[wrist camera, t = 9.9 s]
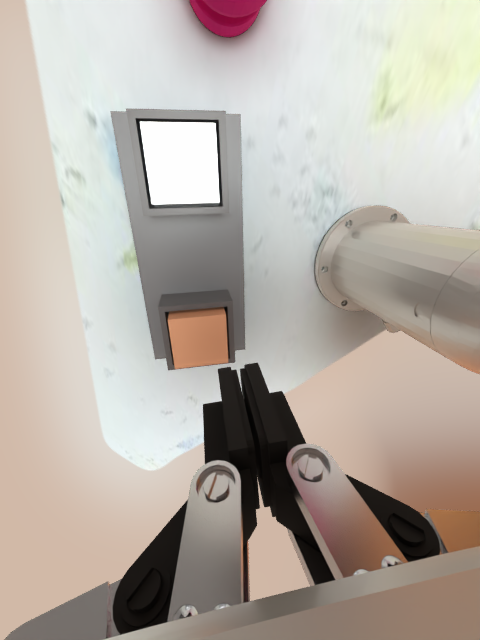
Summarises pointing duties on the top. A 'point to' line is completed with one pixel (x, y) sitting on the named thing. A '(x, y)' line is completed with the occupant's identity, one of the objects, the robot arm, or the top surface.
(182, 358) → the terracotta button
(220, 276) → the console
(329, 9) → the top surface
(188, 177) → the grey button
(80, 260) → the top surface
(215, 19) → the pepper mill
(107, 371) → the top surface
